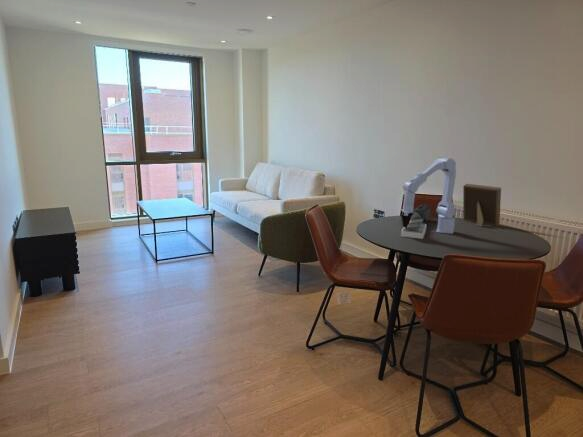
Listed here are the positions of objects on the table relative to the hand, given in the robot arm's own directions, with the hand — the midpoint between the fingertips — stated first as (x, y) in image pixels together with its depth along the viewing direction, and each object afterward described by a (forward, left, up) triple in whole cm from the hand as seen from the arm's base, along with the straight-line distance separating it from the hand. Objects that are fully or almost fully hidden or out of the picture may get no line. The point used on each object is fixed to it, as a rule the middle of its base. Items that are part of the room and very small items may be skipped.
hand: (405, 225), depth 228 cm
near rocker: (-4, 0, -1) cm, 4 cm away
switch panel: (-4, -6, -5) cm, 9 cm away
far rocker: (-4, -12, -1) cm, 13 cm away
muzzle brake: (-4, -35, -6) cm, 35 cm away
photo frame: (-40, -49, -5) cm, 64 cm away
